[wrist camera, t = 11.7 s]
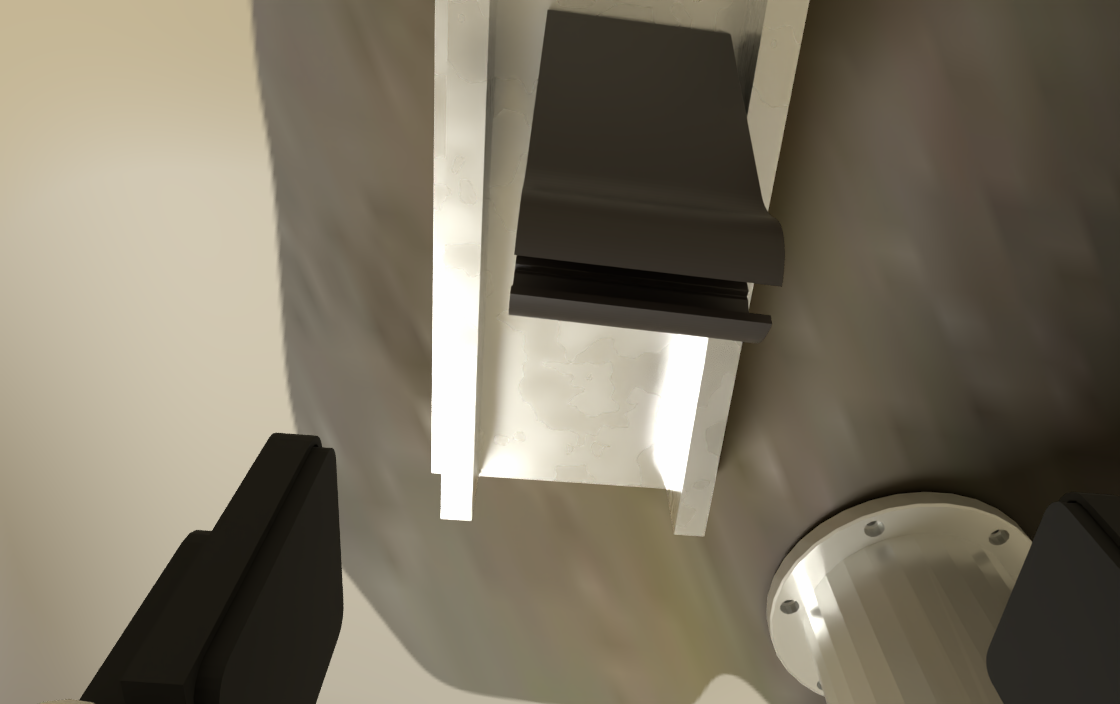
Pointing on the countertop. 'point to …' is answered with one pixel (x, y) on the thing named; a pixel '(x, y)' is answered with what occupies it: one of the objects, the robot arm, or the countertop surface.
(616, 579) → the countertop surface
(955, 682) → the robot arm
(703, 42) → the phone stand
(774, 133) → the aluminium track
